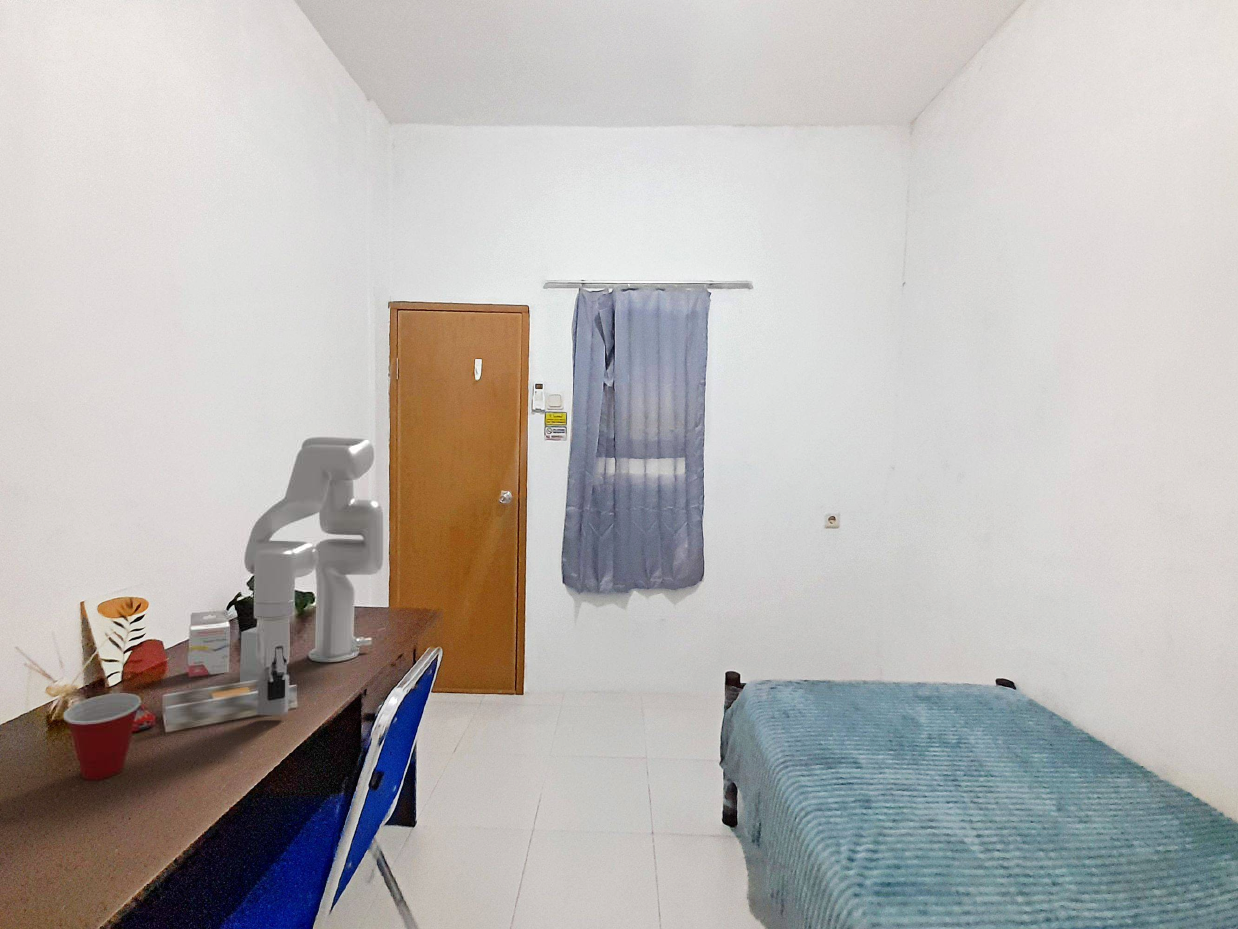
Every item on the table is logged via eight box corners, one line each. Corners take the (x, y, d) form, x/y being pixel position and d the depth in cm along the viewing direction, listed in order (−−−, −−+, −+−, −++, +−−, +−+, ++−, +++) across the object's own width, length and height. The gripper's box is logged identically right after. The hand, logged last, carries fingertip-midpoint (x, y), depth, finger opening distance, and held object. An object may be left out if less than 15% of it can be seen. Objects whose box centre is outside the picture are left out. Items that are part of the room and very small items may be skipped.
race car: (159, 728, 137) (159, 708, 137) (128, 737, 132) (129, 717, 132) (128, 712, 144) (128, 693, 144) (98, 720, 139) (98, 701, 139)
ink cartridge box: (188, 678, 164) (189, 617, 163) (188, 671, 168) (189, 612, 167) (229, 672, 168) (230, 613, 168) (228, 666, 173) (229, 609, 172)
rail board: (287, 692, 157) (287, 673, 157) (297, 707, 149) (297, 687, 149) (162, 715, 142) (162, 693, 142) (165, 732, 134) (166, 709, 134)
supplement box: (266, 687, 160) (267, 634, 159) (238, 684, 161) (240, 631, 161) (287, 677, 167) (288, 626, 166) (261, 674, 168) (262, 623, 168)
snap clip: (247, 692, 150) (247, 686, 150) (252, 700, 146) (252, 695, 145) (210, 698, 146) (210, 693, 146) (214, 707, 141) (214, 701, 141)
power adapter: (262, 708, 143) (263, 652, 143) (289, 708, 144) (290, 653, 143) (256, 715, 140) (256, 658, 140) (283, 715, 141) (284, 658, 140)
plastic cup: (45, 789, 112) (46, 717, 112) (89, 758, 123) (89, 693, 122) (116, 788, 113) (117, 717, 113) (153, 758, 124) (154, 693, 124)
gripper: (246, 600, 145) (246, 684, 146) (261, 621, 132) (260, 713, 133) (285, 596, 150) (284, 677, 151) (303, 615, 136) (302, 704, 137)
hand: (273, 693), depth 142 cm, fingers closed on power adapter, 4 cm apart
